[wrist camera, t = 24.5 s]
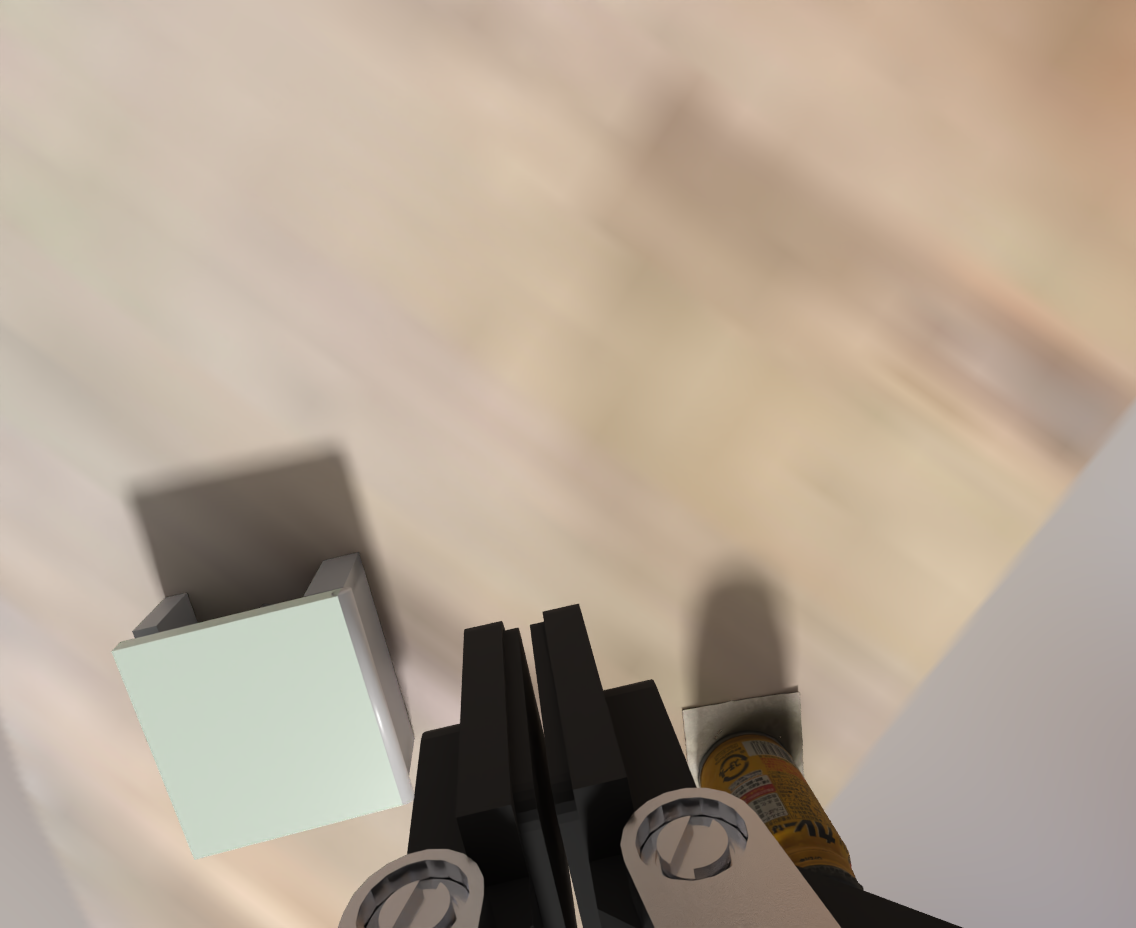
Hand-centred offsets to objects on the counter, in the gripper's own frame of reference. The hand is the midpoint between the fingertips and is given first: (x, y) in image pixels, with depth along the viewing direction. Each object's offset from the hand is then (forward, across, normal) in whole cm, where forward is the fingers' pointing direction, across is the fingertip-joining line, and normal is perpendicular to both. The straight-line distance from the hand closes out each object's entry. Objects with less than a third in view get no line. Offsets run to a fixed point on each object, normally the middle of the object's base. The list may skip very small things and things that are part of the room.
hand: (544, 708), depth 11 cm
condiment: (+32, -10, +27) cm, 43 cm away
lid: (+27, +15, +14) cm, 34 cm away
